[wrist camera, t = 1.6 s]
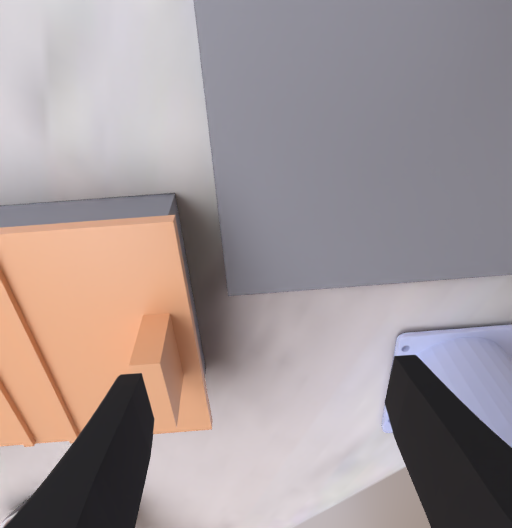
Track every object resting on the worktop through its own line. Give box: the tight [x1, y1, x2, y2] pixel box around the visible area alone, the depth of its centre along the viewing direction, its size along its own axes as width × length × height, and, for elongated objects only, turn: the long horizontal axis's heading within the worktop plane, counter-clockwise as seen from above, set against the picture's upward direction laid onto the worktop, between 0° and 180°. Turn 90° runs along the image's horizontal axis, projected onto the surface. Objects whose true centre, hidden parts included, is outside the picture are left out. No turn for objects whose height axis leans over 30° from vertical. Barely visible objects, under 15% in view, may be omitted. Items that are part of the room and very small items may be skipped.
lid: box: [0, 215, 212, 447], centre depth 18 cm, size 13×13×4 cm
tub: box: [0, 193, 206, 377], centre depth 21 cm, size 12×12×4 cm
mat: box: [194, 0, 512, 296], centre depth 18 cm, size 16×16×1 cm
